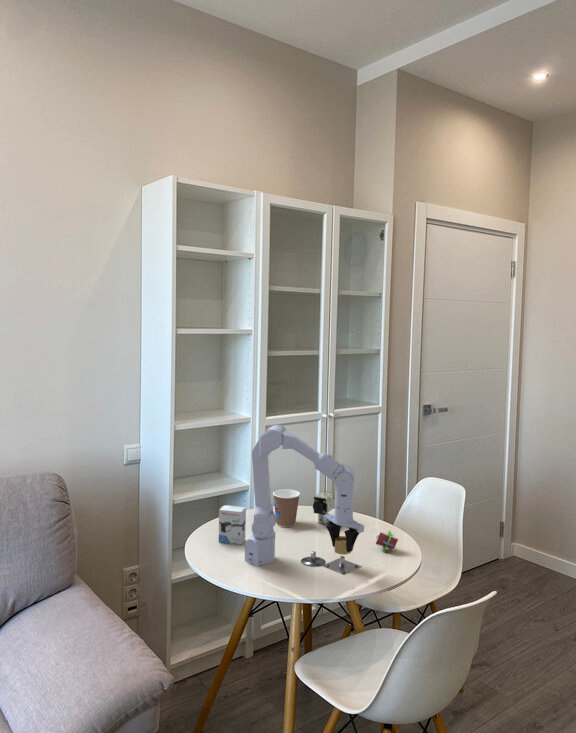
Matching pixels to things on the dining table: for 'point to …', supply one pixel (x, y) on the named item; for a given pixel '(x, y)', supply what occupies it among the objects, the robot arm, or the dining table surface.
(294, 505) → the coffee cup
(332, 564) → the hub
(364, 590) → the dining table surface
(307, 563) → the stand
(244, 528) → the ink box
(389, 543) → the geometric puzzle
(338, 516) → the robot arm
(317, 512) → the pneumatic valve
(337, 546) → the brass collar
